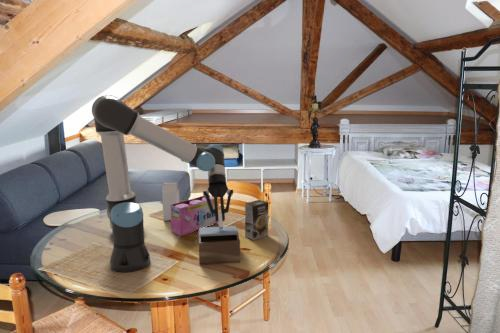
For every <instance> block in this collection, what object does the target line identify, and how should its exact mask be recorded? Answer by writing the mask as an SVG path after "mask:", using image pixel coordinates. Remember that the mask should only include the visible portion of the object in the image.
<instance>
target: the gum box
mask: <svg viewBox="0 0 500 333" xmlns="http://www.w3.org/2000/svg"><path fill="white" fill-rule="evenodd" d="M209 198H210V201H211V203H212V206H213V209H215V206H214V197H213V196H211V194H209ZM215 223H218V221H216V220H215V214H214V213H211V212H210V209H209V206H208V203H207V200H206V198H205V197H204V196H203V195H201V196H198V197H194V198H192V199H191V198H190V199H188V200H184V201H179V203H176V204H172V205H171V232H172V233H173V234H176V235H178V236H181V237H182V236H185V235H188V234H192V233H194V231H195V232H197V231H196V230H198V229H200V228H203V227H206V226H209V225H212V224H215ZM218 224H219V223H218ZM215 225H216V224H215ZM212 226H213V225H212ZM198 231H199V230H198Z"/></svg>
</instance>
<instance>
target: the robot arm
mask: <svg viewBox="0 0 500 333" xmlns="http://www.w3.org/2000/svg"><path fill="white" fill-rule="evenodd" d="M91 113H92V117H93V121H94V128H95V132H96V134H98V135H100V139H101V146H102V154H103V159H104V160H103V161H104V166H105V173H106V174H105V176H106V180H107V181H106V182H107V187H108V194H107V195H106V197H105V201H106V214H107V218H108V219H109V224H110V223H111V226H112V229H111V232H112V242H113V243H112V244H113V245H112V246H113V247H112V252H111V255H110V259H109V267H110V269H112V270H113V271H115V272H119V273H120V272H121V273H130V272H131V273H132V272H137V271H139V270H142V269H145V268H147V267H148V266H149V265H150V263H151V256H150V253H149V250H148V248H147V246H146V244H145V231H144V230H145V228H144V227H145V226H144V212H143V208H142V206H141V205H140V204H138V203H137V199H136V192H134V191H132V189H131V181H130V172H129V166H128V159H127V151H126V142H125V136H129V135H131V136H133V137H135V138H137V139H139V140H141V141H142V142H146V143H147V144H149V145H151V146H153V147H155V148H157V149H159V150H161V151H164V152H166V153H168V154H169V155H171V156H173V157H175V158H177V159H179V160H180V161H181V162H182V163H183V162H184V163H186V164H189V165H191V166H192V167H195V168H197V169H198V170H199V171H202V172H207V177H208V178H207V179H208V180H207V181H208V187H207V189H206V190H203V191H202V196H204V197H205V198H206V200H207V203H208V206H209V209H210V212H211V213H214V214H215V220H216V221H218V227H219V230H222V229H223V227H224V225H223V224H224V223H223V222H225V220H226V215H225V214H227V213H229V211H230V210H229V209H230V204H231V198H232V196H233V194H234V190H233V189H229V187H228V185H227V177H226V175H227V173H226V164H225V153H224V148H223V146H222V145H220V144H217V143H216V144H213V143H212V144H209V145H208V146H207V147H201V146H197V145H195V144H194V143H191V142H189V141H188V140H186V139H184V138H182V137H180V136H178V135H176V134H174V133H172V132H171V131H168V130H167V129H165V128H163V127H162V126H159V125H157V124H156V123H153V122H152V121H149V120H148V119H146V118H144V117H142V116H140V113H139V112H138V111H137V110H135V109H133V108H132V107H130V106H129V105H127V104H126V103H124V102H123V101H122V100H121V98H120V99H119V98H118V97H117V96H114V95H109V94H108V95H101V96H99V97H98V98H97V99H95V100H94V102H93V104H92V106H91ZM226 193H227V200H226V205H225V201H224V200H225V199H224V196H225V195H226ZM209 195H210V196H211V197H214V206H215V209H213V206H212V203H211V201H210V198H209ZM218 198H219V200H220V211H219V207H218ZM147 265H148V266H147Z"/></svg>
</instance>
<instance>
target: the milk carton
mask: <svg viewBox="0 0 500 333" xmlns="http://www.w3.org/2000/svg"><path fill="white" fill-rule="evenodd" d="M162 184H163V185H162V191H161V195H162V199H161V200H162V214H163V215H162V216H163V218H162V220H163V221H167V222H168V221H169V220H171V205H172V204H176V203H180V189H179V185H178V183H177V182H162Z"/></svg>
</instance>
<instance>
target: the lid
mask: <svg viewBox="0 0 500 333" xmlns="http://www.w3.org/2000/svg"><path fill="white" fill-rule="evenodd" d="M219 235H239V231H238V228H237V226H236V225H229V226H223V229H222V230H219V226H210V227H205V228H200V236H219Z"/></svg>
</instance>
